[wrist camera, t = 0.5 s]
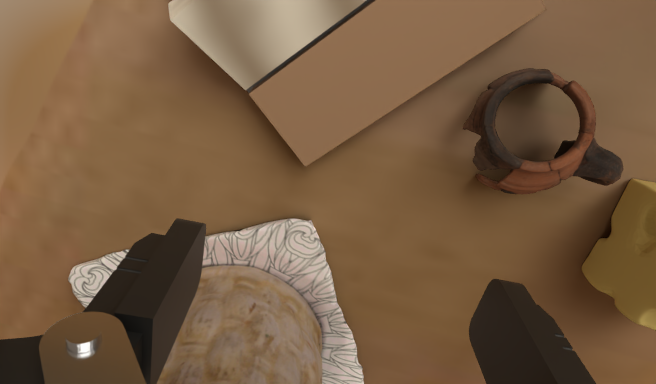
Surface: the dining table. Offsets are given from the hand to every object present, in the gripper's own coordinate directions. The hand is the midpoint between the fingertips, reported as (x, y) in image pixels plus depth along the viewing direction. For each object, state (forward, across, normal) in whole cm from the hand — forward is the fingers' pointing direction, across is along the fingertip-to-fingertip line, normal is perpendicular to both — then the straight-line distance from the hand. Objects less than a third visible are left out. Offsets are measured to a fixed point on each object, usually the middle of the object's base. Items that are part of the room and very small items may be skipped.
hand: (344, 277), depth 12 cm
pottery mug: (+24, -16, 0) cm, 29 cm away
